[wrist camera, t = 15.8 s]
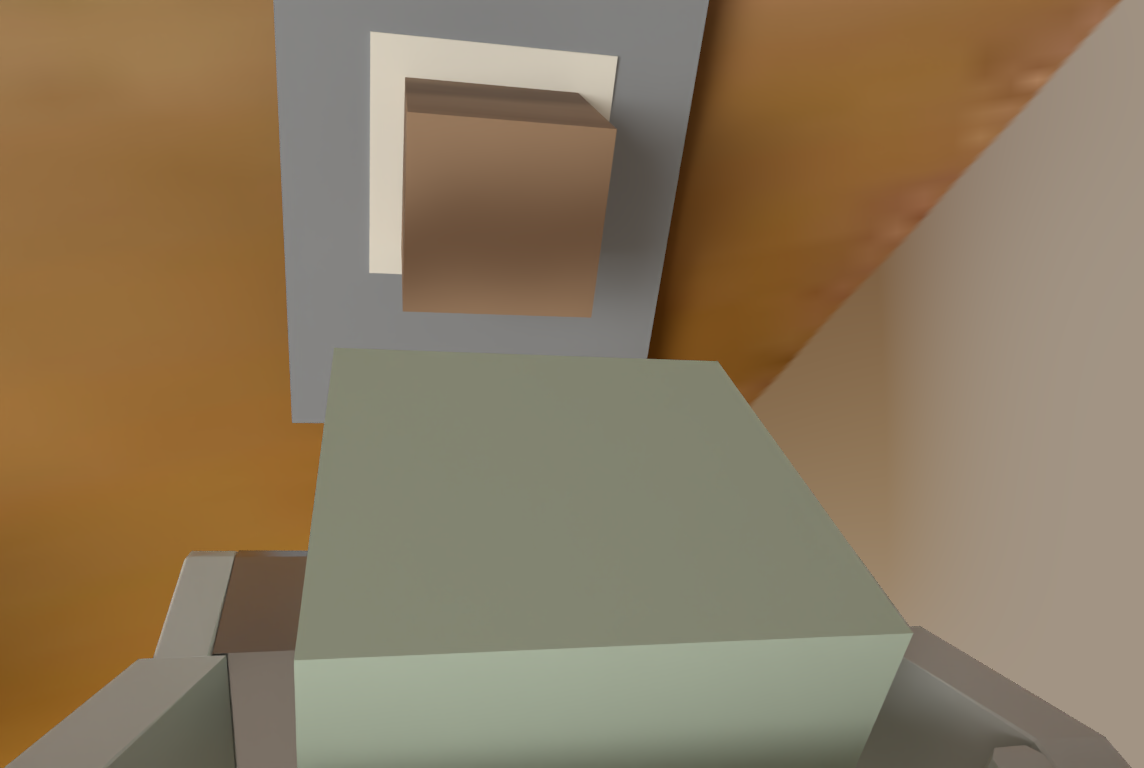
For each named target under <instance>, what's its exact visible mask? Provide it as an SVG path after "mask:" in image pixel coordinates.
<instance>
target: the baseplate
mask: <svg viewBox="0 0 1144 768" xmlns="http://www.w3.org/2000/svg"><path fill="white" fill-rule="evenodd" d="M708 3H709V0H274V23H275V45H276V68H277V91H278V113H279V136H280V158H281V181H282V204H283V226H284V249H285V271H286V294H287V317H288V339H289V362H290V385H291V407H292V423H324V422H325V415H326V407H327V399H328V391H329V384H330V376H331V368H332V360H333V353H334V348H355V349H383V350H411V351H440V352H468V353H496V354H524V355H553V356H581V357H609V358H637V359H647V356H648V350H649V344H650V338H651V333H652V327H653V321H654V315H655V309H656V304H657V298H658V292H659V286H660V281H661V275H662V269H663V263H664V257H665V252H666V246H667V240H668V234H669V229H670V223H671V217H672V211H673V205H674V200H675V194H676V188H677V182H678V177H679V171H680V165H681V159H682V154H683V148H684V142H685V136H686V130H687V125H688V119H689V113H690V107H691V102H692V96H693V90H694V84H695V78H696V73H697V67H698V61H699V55H700V50H701V44H702V38H703V32H704V26H705V21H706V15H707V9H708ZM405 77H410V78H421V79H432V80H443V81H454V82H465V83H476V84H487V85H498V86H509V87H521V88H532V89H543V90H554V91H565V92H576V93H579V94H580V95H581V96H582V97H583V98H584V99H585V100H586V101H588V102H589V103H590V104H591V105H592V106H593V107H594V108H595V109H596V110H597V111H598V112H599V113H600V114H601V115H602V116H603V117H605V118H606V119H607V120H608V121H609V122H610V123H611V124H612V125H613V126H614V127H615V128H616V129H617V132H616V139H615V147H614V154H613V161H612V169H611V176H610V184H609V191H608V198H607V206H606V213H605V220H604V228H603V235H602V242H601V250H600V257H599V264H598V272H597V279H596V286H595V294H594V301H593V309H592V316H591V318H587V317H557V316H526V315H495V314H464V313H433V312H403V303H402V260H401V232H402V187H403V143H404V98H405Z"/></svg>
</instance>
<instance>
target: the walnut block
mask: <svg viewBox="0 0 1144 768" xmlns="http://www.w3.org/2000/svg"><path fill="white" fill-rule="evenodd" d="M616 132H617V129H616V128H615V127H614V126H613V125H612V124H611V123H610V122H609V121H608V120H607V119H606V118H605V117H603V116H602V115H601V114H600V113H599V112H598V111H597V110H596V109H595V108H594V107H593V106H592V105H591V104H590V103H589V102H588V101H586V100H585V99H584V98H583V97H582V96H581V95H580V94H579V93H576V92H565V91H554V90H543V89H532V88H521V87H509V86H498V85H487V84H476V83H465V82H454V81H443V80H432V79H421V78H410V77H405V98H404V143H403V187H402V232H401V260H402V303H403V312H433V313H464V314H495V315H526V316H557V317H587V318H591V316H592V309H593V301H594V294H595V286H596V279H597V272H598V264H599V257H600V250H601V242H602V235H603V228H604V220H605V213H606V206H607V198H608V191H609V184H610V176H611V169H612V161H613V154H614V147H615V139H616Z"/></svg>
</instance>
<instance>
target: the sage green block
mask: <svg viewBox="0 0 1144 768" xmlns="http://www.w3.org/2000/svg"><path fill="white" fill-rule="evenodd" d="M912 635H913V632H912V631H911V629H910V628H909V626H908V625H907V624H906V622H905V621H904V620H903V618H902V617H901V615H900V614H899V613H898V611H897V610H896V608H895V607H894V606H893V604H892V603H891V601H890V600H889V599H888V597H887V596H886V595H885V593H884V592H883V590H882V589H881V588H880V586H879V585H878V583H877V582H876V581H875V579H874V578H873V576H872V575H871V574H870V572H869V571H868V569H867V568H866V567H865V565H864V564H863V563H862V561H861V560H860V558H859V557H858V556H857V554H856V553H855V551H854V550H853V549H852V547H851V546H850V545H849V544H848V542H847V540H846V539H845V538H844V536H843V535H842V533H841V532H840V531H839V529H838V528H837V526H836V525H835V524H834V522H833V521H832V519H831V518H830V517H829V515H828V514H827V513H826V511H825V510H824V508H823V507H822V506H821V504H820V503H819V501H818V500H817V499H816V497H815V496H814V494H813V493H812V492H811V490H810V489H809V488H808V486H807V485H806V483H805V482H804V481H803V479H802V478H801V477H800V475H799V474H798V472H797V471H796V469H795V468H794V467H793V465H792V464H791V462H790V461H789V460H788V458H787V457H786V456H785V454H784V453H783V451H782V450H781V449H780V447H779V446H778V444H777V443H776V442H775V440H774V439H773V437H772V436H771V435H770V433H769V432H768V430H767V429H766V428H765V427H764V425H763V424H762V422H761V421H760V419H759V418H758V417H757V415H756V414H755V413H754V411H753V410H752V408H751V407H750V405H749V404H748V403H747V401H746V400H745V399H744V397H743V396H742V394H741V393H740V392H739V390H738V389H737V387H736V386H735V385H734V383H733V382H732V380H731V379H730V378H729V376H728V375H727V374H726V372H725V371H724V369H723V368H722V367H721V365H720V364H719V362H718V361H694V360H666V359H637V358H609V357H581V356H553V355H524V354H496V353H468V352H440V351H411V350H383V349H355V348H334V353H333V360H332V368H331V376H330V384H329V391H328V399H327V407H326V415H325V422H324V430H323V438H322V446H321V453H320V461H319V469H318V477H317V485H316V492H315V500H314V508H313V516H312V523H311V531H310V539H309V547H308V554H307V562H306V570H305V578H304V585H303V593H302V601H301V609H300V617H299V624H298V632H297V640H296V648H295V655H294V682H295V716H296V749H297V768H855V767H856V765H857V762H858V760H859V758H860V756H861V753H862V751H863V749H864V746H865V744H866V742H867V739H868V737H869V735H870V732H871V730H872V728H873V725H874V723H875V721H876V719H877V716H878V714H879V712H880V709H881V707H882V705H883V702H884V700H885V698H886V695H887V693H888V691H889V688H890V686H891V684H892V682H893V679H894V677H895V675H896V672H897V670H898V668H899V665H900V663H901V661H902V658H903V656H904V654H905V651H906V649H907V647H908V644H909V642H910V640H911V638H912Z"/></svg>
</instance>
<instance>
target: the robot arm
mask: <svg viewBox="0 0 1144 768" xmlns="http://www.w3.org/2000/svg"><path fill="white" fill-rule="evenodd" d="M852 549H853V548H852ZM855 553H856V552H855ZM307 554H308V551H243V550H239V551H238V552H236V551H191V552H190V554H189V555H188V556H187V557H186V559H185V560H184V563H183V566H182V569H181V572H180V575H179V578H178V582H177V585H176V588H175V591H174V594H173V597H172V600H171V604H170V607H169V610H168V613H167V616H166V619H165V622H164V625H163V629H162V632H161V635H160V638H159V641H158V644H157V647H156V650H155V654H154V657H153V658H150V659H138V660H137V661H135V662H134V663H133V664H132V665H130V666H129V667H128V668H127V669H125V670H124V671H123V672H122V673H120V674H119V675H118V676H117V677H116V678H114V679H113V680H112V681H111V682H109V683H108V684H107V685H106V686H104V687H103V688H102V689H101V690H99V691H98V692H97V693H96V694H95V695H93V696H92V697H91V698H90V699H88V700H87V701H86V702H85V703H83V704H82V705H81V706H80V707H78V708H77V709H76V710H75V711H73V712H72V713H71V714H70V715H69V716H67V717H66V718H65V719H64V720H62V721H61V722H60V723H59V724H57V725H56V726H55V727H54V728H52V729H51V730H50V731H49V732H48V733H46V734H45V735H44V736H43V737H41V738H40V739H39V740H38V741H36V742H35V743H34V744H33V745H31V746H30V747H29V748H28V749H27V750H25V751H24V752H23V753H22V754H20V755H19V756H18V757H17V758H15V759H14V760H13V761H12V762H10V763H9V764H8V765H7V766H6V767H4V768H297V749H296V716H295V682H294V655H295V648H296V640H297V632H298V624H299V617H300V609H301V601H302V593H303V585H304V578H305V570H306V562H307ZM857 556H858V555H857ZM858 557H859V556H858ZM860 560H861V559H860ZM862 563H863V562H862ZM863 564H864V563H863ZM865 567H866V566H865ZM866 568H867V567H866ZM868 571H869V570H868ZM870 574H871V573H870ZM871 575H872V574H871ZM873 578H874V577H873ZM874 579H875V578H874ZM875 581H876V580H875ZM876 582H877V581H876ZM877 583H878V582H877ZM878 585H879V584H878ZM879 586H880V585H879ZM880 588H881V587H880ZM881 589H882V588H881ZM882 590H883V589H882ZM883 592H884V591H883ZM884 593H885V592H884ZM885 595H886V593H885ZM886 596H887V595H886ZM887 597H888V596H887ZM888 599H889V598H888ZM889 600H890V599H889ZM890 601H891V600H890ZM891 603H892V602H891ZM892 604H893V603H892ZM893 606H894V604H893ZM894 607H895V606H894ZM895 608H896V607H895ZM896 610H897V609H896ZM897 611H898V610H897ZM898 613H899V611H898ZM899 614H900V613H899ZM900 615H901V614H900ZM901 617H902V615H901ZM902 618H903V617H902ZM903 620H904V618H903ZM904 621H905V620H904ZM905 622H906V621H905ZM906 624H907V622H906ZM907 625H908V624H907ZM908 626H909V625H908ZM909 628H910V629H911V631H912V632H913V635H912V638H911V640H910V642H909V644H908V647H907V649H906V651H905V654H904V656H903V658H902V661H901V663H900V665H899V668H898V670H897V672H896V675H895V677H894V679H893V682H892V684H891V686H890V688H889V691H888V693H887V695H886V698H885V700H884V702H883V705H882V707H881V709H880V712H879V714H878V716H877V719H876V721H875V723H874V725H873V728H872V730H871V732H870V735H869V737H868V739H867V742H866V744H865V746H864V749H863V751H862V753H861V756H860V758H859V760H858V762H857V765H856V767H855V768H1131V767H1130V765H1129V764H1128V763H1127V762H1126V761H1125V760H1124V759H1123V758H1122V756H1121V755H1120V754H1119V753H1118V751H1117V750H1116V749H1115V748H1114V747H1113V746H1112V745H1111V743H1110V742H1109V741H1108V740H1107V739H1106V737H1104V736H1103V735H1101V734H1099V733H1098V732H1096V731H1094V730H1093V729H1091V728H1089V727H1088V726H1086V725H1084V724H1083V723H1081V722H1079V721H1078V720H1076V719H1074V718H1073V717H1071V716H1069V715H1067V714H1066V713H1064V712H1063V711H1061V710H1059V709H1058V708H1056V707H1054V706H1053V705H1051V704H1049V703H1048V702H1046V701H1044V700H1043V699H1041V698H1039V697H1038V696H1035V695H1034V694H1033V693H1031V692H1029V691H1028V690H1026V689H1024V688H1023V687H1021V686H1019V685H1018V684H1016V683H1014V682H1013V681H1011V680H1009V679H1007V678H1006V677H1004V676H1003V675H1001V674H999V673H997V672H996V671H994V670H993V669H991V668H989V667H988V666H986V665H984V664H983V663H981V662H979V661H977V660H976V659H974V658H972V657H971V656H969V655H968V654H966V653H964V652H962V651H961V650H959V649H957V648H956V647H954V646H952V645H951V644H949V643H947V642H945V641H944V640H942V639H941V638H939V637H937V636H935V635H934V634H932V633H931V632H929V631H927V630H926V629H924V628H922V627H921V626H912V627H910V626H909Z"/></svg>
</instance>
